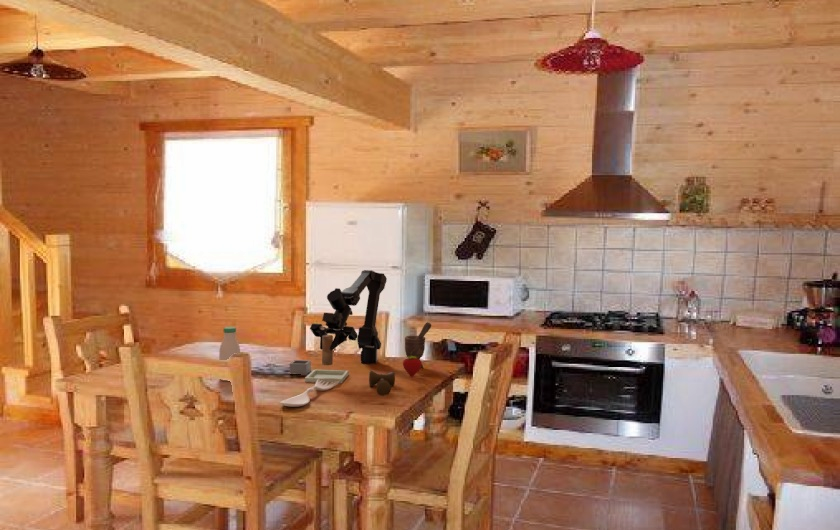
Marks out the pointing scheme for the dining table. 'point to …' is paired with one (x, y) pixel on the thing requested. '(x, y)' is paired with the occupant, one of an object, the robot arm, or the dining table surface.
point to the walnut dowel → (327, 350)
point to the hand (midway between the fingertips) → (325, 349)
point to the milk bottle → (228, 344)
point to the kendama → (382, 382)
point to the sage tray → (327, 376)
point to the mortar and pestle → (416, 343)
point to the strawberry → (412, 365)
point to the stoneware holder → (300, 367)
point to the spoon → (304, 397)
